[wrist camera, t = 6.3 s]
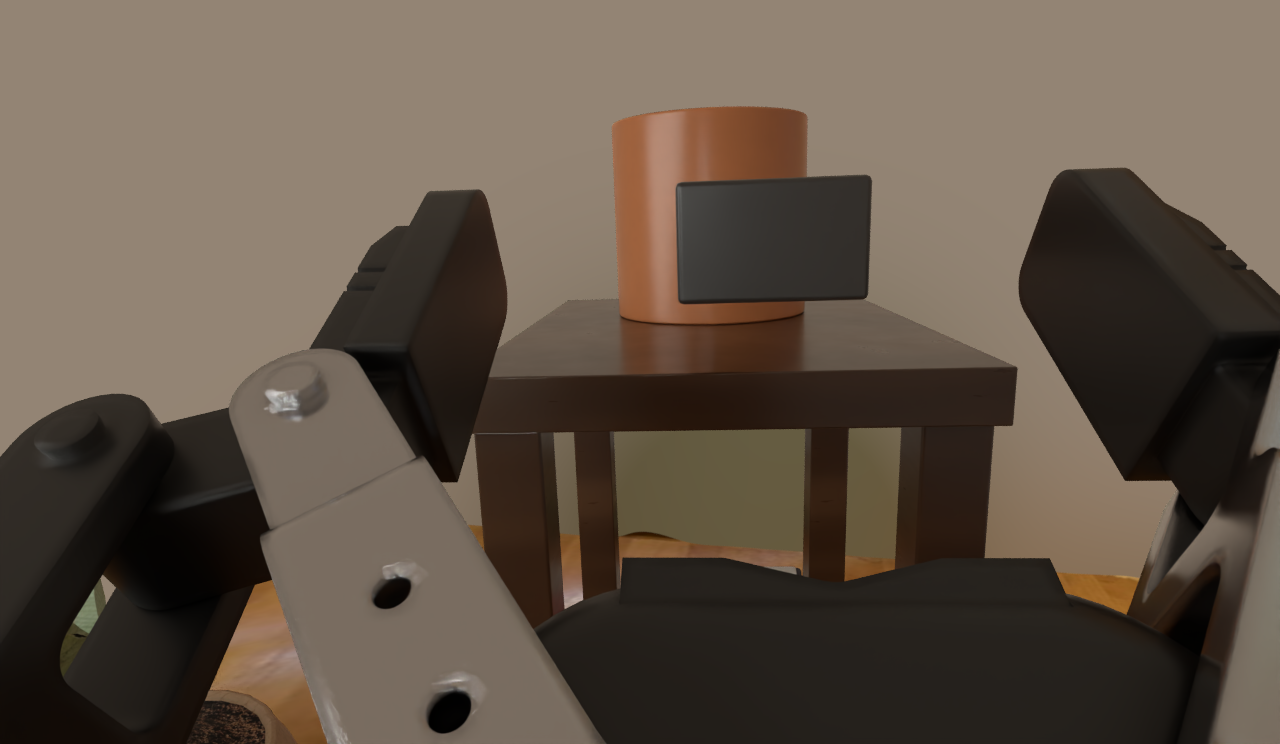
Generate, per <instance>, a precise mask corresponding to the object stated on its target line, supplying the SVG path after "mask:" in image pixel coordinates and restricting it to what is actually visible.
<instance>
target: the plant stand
mask: <svg viewBox="0 0 1280 744" xmlns="http://www.w3.org/2000/svg"><path fill="white" fill-rule="evenodd" d="M1016 380H1017V367H1016V366H1013V365H1011V364H1009V363H1006V362H1004V361H1002V360H1000V359H997V358H995V357H993V356H991V355H988V354H986V353H984V352H981V351H979V350H977V349H975V348H972V347H970V346H968V345H966V344H963V343H961V342H958V341H957V340H954V339H952V338H950V337H948V336H945V335H943V334H940V333H939V332H936V331H934V330H932V329H929V328H927V327H925V326H923V325H920V324H918V323H916V322H913V321H911V320H909V319H907V318H905V317H902V316H900V315H898V314H896V313H893V312H891V311H889V310H886V309H884V308H882V307H880V306H877V305H875V304H873V303H870V302H868V301H866V300H864V299H862V300H833V301H805V309H804V312H802V313H801V314H799V315H796V316H793V317H789V318H784V319H778V320H771V321H763V322H753V323H740V324H718V325H677V324H658V323H647V322H640V321H634V320H630V319H626V318H624V317H622V316H621V315H620V314H619V299H601V300H568V301H567V302H565V303H564V304H562V305H561V306H559V307H558V308H556V309H555V310H553V311H552V312H550V313H549V314H548V315H546V316H545V317H543V318H542V319H541V320H539V321H537V322H536V323H534V324H533V325H531V326H530V327H529V328H527V329H526V330H524V331H523V332H522V333H520V334H519V335H517V336H515V337H514V338H513V339H511V340H510V341H508V342H507V343H505V344H504V345H502V346H501V347H499V348H498V349H497V350H496V354H495V357H494V360H493V364H492V367H491V371H490V374H489V377H488V381H487V384H486V388H485V391H484V394H483V398H482V401H481V404H480V408H479V411H478V415H477V418H476V421H475V425H474V428H473V432H472V434H474V435H475V447H476V458H477V469H478V480H479V493H480V503H481V516H482V527H483V539H484V550H485V553H486V555H487V557H488V558H489V560H490V561H491V563H492V565H493V566H494V568H495V569H496V571H497V572H498V574H499V576H500V577H501V579H502V580H503V582H504V584H505V585H506V587H507V588H508V590H509V592H510V593H511V595H512V596H513V598H514V600H515V601H516V603H517V604H518V606H519V608H520V609H521V611H522V612H523V614H524V615H525V617H526V619H527V620H528V622H529V623H530V625H531V627H532V628H533V629H534V628H536V627H537V626H539V625H540V624H542V623H543V622H545V621H546V620H548V619H549V618H551V617H552V616H554V615H555V614H557V613H559V612H561V611H563V610H564V595H563V579H562V563H561V547H560V532H559V516H558V499H557V485H556V484H557V483H556V467H555V451H554V435H553V432H574V441H575V460H576V477H577V496H578V513H579V531H580V549H581V567H582V585H583V600H586V599H588V598H591V597H594V596H596V595H599V594H602V593H605V592H609V591H613V590H616V589H620V588H621V587H620V564H619V541H618V520H617V519H618V518H617V496H616V474H615V473H616V472H615V449H614V432H616V431H679V430H680V431H681V430H683V431H686V430H752V429H753V430H754V429H805V474H804V475H805V476H804V478H805V479H804V538H803V540H804V541H803V545H804V546H803V576H805V577H810V578H814V579H818V580H823V581H828V582H844V576H845V541H846V540H845V539H846V506H847V472H848V470H847V469H848V438H849V437H848V436H849V428H888V427H889V428H892V427H901V446H900V469H899V490H898V491H899V492H898V514H897V535H896V557H895V569H899V568H903V567H907V566H912V565H916V564H920V563H924V562H928V561H932V560H936V559H940V558H984V557H985V543H986V529H987V516H988V503H989V489H990V476H991V462H992V461H991V460H992V448H993V435H994V426H1012V425H1013V418H1014V405H1015V392H1016Z"/></svg>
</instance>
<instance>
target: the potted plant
mask: <svg viewBox="0 0 1280 744" xmlns="http://www.w3.org/2000/svg"><path fill="white" fill-rule="evenodd" d="M105 606H106V602H105V595H104V591H103V587H102V583H101V579H100V580H99V581H98V583H97V584H96V586H95V588H94V589H93V591H92V592H91V594H90V596H89V597H88V599H87V601H86V602H85V604H84V605H83V607H82V609H81V610H80V612H79V613H78V615H77V617H76V618H75V620H74V622H73V623H72V625H71V626H70V628H69V630H68V632H67V634H66V636H65V638H64V641H63V644H62V648H61V653H60V668H61V673H62V676H64V675H65V673H66V671H67V670H68V668H69V666H70V665H71V663H72V661H73V660H74V658H75V656H76V655H77V653H78V651H79V649H80V648H81V646H82V644H83V643H84V641H85V639H86V638H87V636H88V634H89V633H90V631H91V629H92V628H93V626H94V624H95V623H96V621H97V619H98V617H99V616H100V614H101V612H102V611H103V609H104V607H105ZM186 744H297V742H296V741H295V739H294V738H293V736H292V734H291V733H290V732H289V730H288V729H287V728H286V727H285V726H284V725H283V724H282V723H281V722H280V721H279V720H278V719H277V718H276V717H275V715H274V714H273V713H272V711H271V710H270V708H269V707H268V706H267V705H265V704H264V703H262V702H260V701H259V700H257V699H255V698H254V697H252V696H251V695H247V694H242V693H238V692H233V691H229V690H209V692H208V694H207V697H206V699H205V701H204V704H203V706H202V708H201V711H200V713H199V715H198V718H197V720H196V722H195V725H194V727H193V729H192V731H191V734H190V736H189V738H188V741H187V743H186Z"/></svg>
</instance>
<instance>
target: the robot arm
mask: <svg viewBox="0 0 1280 744" xmlns="http://www.w3.org/2000/svg"><path fill="white" fill-rule="evenodd" d="M1246 266H1247V264H1246V263H1245V262H1244V261H1242V260H1241V259H1240V258H1239V257H1238V256H1237V255H1236V254H1235V253H1234V252H1233V251H1232V250H1226V245H1225V244H1224V243H1223V242H1222V241H1221V240H1220V239H1219V238H1218V237H1217V236H1216V235H1215V234H1214V233H1213V232H1212V231H1211V230H1209V228H1207V227H1206V226H1205V225H1204V224H1203V223H1202V222H1200V221H1198V220H1197V219H1195V218H1193V217H1191V216H1189V215H1187V214H1185V213H1183V212H1181V211H1179V210H1177V209H1175V208H1173V207H1171V206H1169V205H1168V204H1166V203H1164V202H1163V201H1162V200H1161V199H1160V198H1159V197H1158V196H1157V195H1156V194H1155V193H1154V192H1153V191H1152V190H1151V189H1150V188H1149V187H1148V186H1147V185H1146V184H1145V183H1144V182H1143V181H1142V180H1141V179H1140V178H1139V177H1138V176H1137V175H1135V174H1134V173H1133V172H1132V171H1131V170H1130V169H1127V168H1102V169H1074V170H1065V171H1062V172H1061V173H1060V174H1059V175H1058V176H1057V177H1056V178H1055V179H1054V181H1053V183H1052V184H1051V187H1050V189H1049V192H1048V194H1047V197H1046V200H1045V203H1044V205H1043V209H1042V211H1041V214H1040V217H1039V219H1038V222H1037V225H1036V228H1035V230H1034V233H1033V236H1032V239H1031V242H1030V244H1029V247H1028V250H1027V253H1026V255H1025V258H1024V261H1023V264H1022V267H1021V270H1020V276H1019V297H1020V302H1021V305H1022V308H1023V310H1024V312H1025V313H1026V315H1027V317H1028V318H1029V320H1030V322H1031V324H1032V325H1033V327H1034V329H1035V330H1036V332H1037V334H1038V335H1039V337H1040V339H1041V340H1042V342H1043V344H1044V345H1045V347H1046V349H1047V350H1048V352H1049V353H1050V355H1051V357H1052V359H1053V360H1054V362H1055V364H1056V365H1057V367H1058V369H1059V371H1060V372H1061V374H1062V375H1063V377H1064V379H1065V381H1066V382H1067V384H1068V386H1069V387H1070V389H1071V391H1072V392H1073V394H1074V396H1075V397H1076V399H1077V401H1078V402H1079V404H1080V406H1081V408H1082V409H1083V411H1084V413H1085V414H1086V416H1087V418H1088V419H1089V421H1090V423H1091V424H1092V426H1093V428H1094V429H1095V431H1096V433H1097V434H1098V436H1099V438H1100V439H1101V441H1102V443H1103V444H1104V446H1105V447H1106V449H1107V451H1108V453H1109V455H1110V456H1111V458H1112V459H1113V461H1114V463H1115V465H1116V466H1117V468H1118V470H1119V471H1120V473H1121V475H1122V476H1123V478H1124V480H1125V481H1163V480H1164V481H1170V480H1171V481H1172V482H1173V483H1174V485H1175V487H1176V488H1177V491H1176V492H1175V494H1174V495H1173V497H1172V498H1171V499H1170V501H1169V502H1168V504H1167V505H1166V507H1165V509H1164V511H1163V514H1162V517H1161V519H1160V522H1159V525H1158V528H1157V531H1156V534H1155V536H1154V539H1153V542H1152V545H1151V548H1150V551H1149V553H1148V556H1147V559H1146V562H1145V565H1144V568H1143V571H1142V573H1141V576H1140V579H1139V582H1138V585H1137V587H1136V590H1135V593H1134V596H1133V599H1132V602H1131V605H1130V607H1129V610H1128V612H1127V615H1126V614H1123V613H1121V612H1119V611H1116V610H1114V609H1111V608H1109V607H1107V606H1104V605H1102V604H1099V603H1096V602H1093V601H1089V600H1086V599H1083V598H1080V597H1077V596H1074V595H1070V594H1066V593H1065V591H1064V589H1063V587H1062V585H1061V582H1060V580H1059V578H1058V576H1057V573H1056V571H1055V569H1054V567H1053V565H1052V562H1051V560H1050V559H1049V558H1043V559H1042V558H1022V559H1021V558H1012V559H1011V558H940V559H936V560H932V561H928V562H924V563H920V564H916V565H912V566H907V567H903V568H899V569H895V570H891V571H887V572H883V573H878V574H874V575H870V576H866V577H862V578H858V579H854V580H850V581H844V582H828V581H823V580H818V579H814V578H810V577H805V576H801V575H797V574H792V573H788V572H784V571H779V570H775V569H770V568H766V567H762V566H757V565H753V564H749V563H744V562H740V561H736V560H731V559H727V558H623V559H622V574H621V588H620V589H616V590H613V591H609V592H605V593H602V594H599V595H596V596H594V597H591V598H588V599H586V600H583V601H580V602H578V603H576V604H574V605H572V606H571V607H569V608H567V609H565V610H563V611H561V612H559V613H557V614H555V615H554V616H552V617H551V618H549V619H548V620H546V621H545V622H543V623H542V624H540V625H539V626H537V627H536V628H534V629H533V628H532V627H531V625H530V623H529V622H528V620H527V619H526V617H525V615H524V614H523V612H522V611H521V609H520V608H519V606H518V604H517V603H516V601H515V600H514V598H513V596H512V595H511V593H510V592H509V590H508V588H507V587H506V585H505V584H504V582H503V580H502V579H501V577H500V576H499V574H498V572H497V571H496V569H495V568H494V566H493V565H492V563H491V561H490V560H489V558H488V557H487V555H486V553H485V552H484V550H483V549H482V547H481V545H480V544H479V542H478V541H477V539H476V537H475V536H474V534H473V533H472V531H471V529H470V528H469V526H468V525H467V523H466V522H465V520H464V518H463V517H462V515H461V514H460V512H459V510H458V509H457V507H456V506H455V504H454V503H453V501H452V499H451V498H450V496H449V495H448V493H447V492H446V490H445V488H444V487H443V485H442V483H441V482H458V479H459V475H460V472H461V468H462V465H463V462H464V459H465V455H466V452H467V448H468V445H469V442H470V438H471V435H472V432H473V428H474V425H475V421H476V418H477V415H478V411H479V408H480V404H481V401H482V398H483V394H484V391H485V388H486V384H487V381H488V377H489V374H490V371H491V367H492V364H493V360H494V357H495V354H496V350H497V347H498V343H499V340H500V337H501V333H502V330H503V327H504V323H505V319H506V314H507V287H506V280H505V275H504V271H503V266H502V262H501V258H500V254H499V249H498V245H497V240H496V236H495V231H494V227H493V223H492V218H491V214H490V209H489V205H488V202H487V199H486V197H485V195H484V193H483V192H482V191H481V190H454V191H430V192H428V193H427V194H426V196H425V198H424V200H423V201H422V203H421V205H420V207H419V209H418V210H417V213H416V214H415V216H414V218H413V220H412V221H411V223H410V225H409V226H396V227H395V228H394V229H392V230H391V231H390V232H388V233H387V234H386V235H385V236H383V237H382V238H381V239H379V240H378V241H377V242H376V243H374V244H373V245H372V246H371V247H370V249H369V250H368V252H367V253H366V255H365V257H364V259H363V260H362V262H361V264H360V265H359V267H358V273H355V274H354V275H353V277H352V279H351V280H350V282H349V284H348V285H347V291H344V292H343V294H342V295H341V297H340V299H339V301H338V302H337V304H336V305H335V307H334V309H333V310H332V312H331V314H330V315H329V317H328V319H327V320H326V322H325V324H324V326H323V327H322V329H321V330H320V332H319V334H318V335H317V337H316V339H315V340H314V342H313V344H312V345H311V347H310V349H309V350H303V351H299V352H295V353H291V354H289V355H285V356H283V357H280V358H278V359H276V360H274V361H271V362H269V363H268V364H266V365H264V366H262V367H261V368H259V369H258V370H256V371H255V372H254V373H252V374H251V375H250V376H249V377H248V378H247V379H245V380H244V381H243V382H242V384H241V385H240V386H239V387H238V388H237V390H236V391H235V393H234V395H233V396H232V399H231V402H230V405H229V408H225V409H221V410H217V411H213V412H209V413H205V414H201V415H196V416H192V417H188V418H184V419H180V420H176V421H171V422H167V423H163V424H161V423H160V422H159V421H158V420H157V418H156V417H155V415H154V414H153V413H152V411H151V410H150V409H149V407H148V406H147V405H146V403H145V402H144V401H142V400H141V399H140V398H137V397H134V396H132V395H126V394H109V395H100V396H96V397H91V398H88V399H84V400H81V401H78V402H75V403H72V404H70V405H68V406H65V407H63V408H61V409H59V410H57V411H55V412H53V413H51V414H49V415H48V416H46V417H44V418H42V419H41V420H39V421H38V422H36V423H35V424H33V425H32V426H31V427H29V428H28V429H27V430H26V431H24V432H23V433H22V434H21V435H20V436H19V437H18V438H17V439H16V440H15V441H14V442H13V443H12V444H11V445H10V446H9V448H8V449H7V450H6V451H5V452H4V453H3V454H2V456H1V457H0V744H186V743H187V741H188V738H189V736H190V734H191V731H192V729H193V727H194V725H195V722H196V720H197V718H198V715H199V713H200V711H201V708H202V706H203V704H204V701H205V699H206V697H207V694H208V692H209V690H210V687H211V685H212V683H213V681H214V678H215V676H216V674H217V671H218V669H219V667H220V664H221V662H222V660H223V657H224V655H225V653H226V650H227V648H228V646H229V643H230V641H231V639H232V637H233V634H234V632H235V630H236V627H237V625H238V623H239V620H240V618H241V616H242V613H243V611H244V609H245V606H246V604H247V602H248V599H249V597H250V595H251V593H252V590H253V588H254V586H255V585H256V584H259V583H263V582H266V581H270V580H273V583H274V586H275V589H276V592H277V595H278V598H279V601H280V604H281V607H282V610H283V613H284V616H285V619H286V622H287V625H288V628H289V631H290V633H291V636H292V639H293V642H294V645H295V648H296V651H297V654H298V657H299V660H300V663H301V666H302V669H303V672H304V675H305V678H306V681H307V684H308V687H309V690H310V693H311V695H312V698H313V701H314V704H315V707H316V710H317V713H318V716H319V719H320V722H321V725H322V728H323V731H324V734H325V737H326V740H327V743H328V744H1280V295H1279V294H1278V293H1276V291H1275V290H1273V289H1272V288H1271V287H1270V286H1269V285H1268V284H1267V283H1266V282H1265V281H1264V280H1263V279H1262V278H1261V277H1260V276H1259V275H1258V274H1256V273H1255V272H1254V271H1253V270H1247V269H1246ZM102 575H104V576H105V577H106V578H107V579H108V580H109V581H110V582H111V583H112V584H113V585H114V586H115V587H116V589H115V590H114V592H113V594H112V596H111V597H110V599H109V601H108V602H107V604H106V606H105V607H104V609H103V611H102V612H101V614H100V616H99V617H98V619H97V621H96V623H95V624H94V626H93V628H92V629H91V631H90V633H89V634H88V636H87V638H86V639H85V641H84V643H83V644H82V646H81V648H80V649H79V651H78V653H77V655H76V656H75V658H74V660H73V661H72V663H71V665H70V666H69V668H68V670H67V671H66V673H65V675H64V676H62V673H61V668H60V653H61V648H62V644H63V641H64V638H65V636H66V634H67V632H68V630H69V628H70V626H71V625H72V623H73V622H74V620H75V618H76V617H77V615H78V613H79V612H80V610H81V609H82V607H83V605H84V604H85V602H86V601H87V599H88V597H89V596H90V594H91V592H92V591H93V589H94V588H95V586H96V584H97V583H98V581H99V580H100V578H101V576H102Z"/></svg>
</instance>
